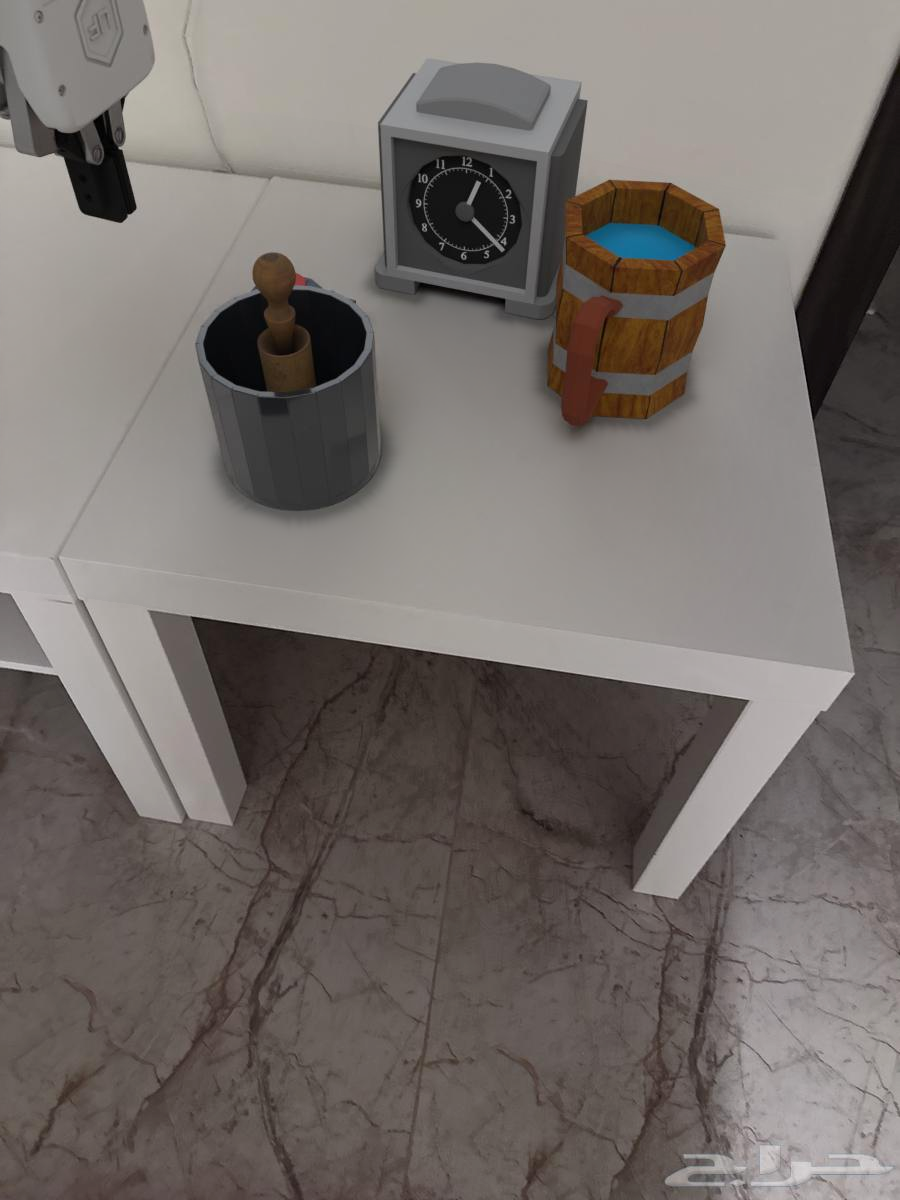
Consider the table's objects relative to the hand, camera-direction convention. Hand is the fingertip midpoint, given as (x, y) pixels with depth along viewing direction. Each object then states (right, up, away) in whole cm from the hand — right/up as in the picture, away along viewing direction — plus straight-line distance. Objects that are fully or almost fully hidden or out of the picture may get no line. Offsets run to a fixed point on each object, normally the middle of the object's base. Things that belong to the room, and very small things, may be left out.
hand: (109, 212), depth 59 cm
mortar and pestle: (+9, -12, +20) cm, 25 cm away
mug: (+36, -6, +26) cm, 44 cm away
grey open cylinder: (+9, -12, +20) cm, 25 cm away
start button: (+7, +3, +27) cm, 28 cm away
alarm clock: (+24, +10, +37) cm, 45 cm away
